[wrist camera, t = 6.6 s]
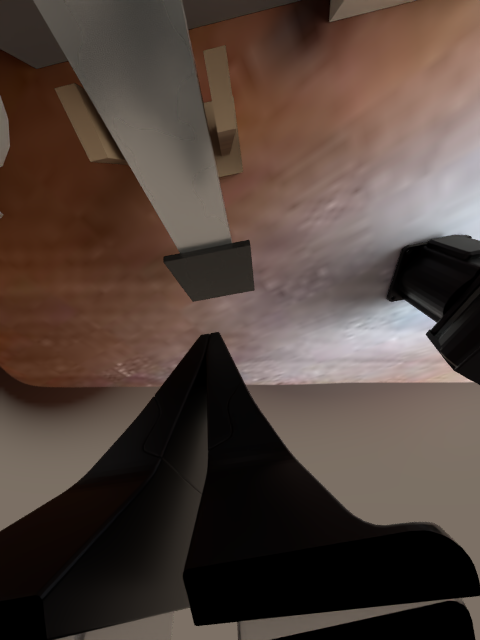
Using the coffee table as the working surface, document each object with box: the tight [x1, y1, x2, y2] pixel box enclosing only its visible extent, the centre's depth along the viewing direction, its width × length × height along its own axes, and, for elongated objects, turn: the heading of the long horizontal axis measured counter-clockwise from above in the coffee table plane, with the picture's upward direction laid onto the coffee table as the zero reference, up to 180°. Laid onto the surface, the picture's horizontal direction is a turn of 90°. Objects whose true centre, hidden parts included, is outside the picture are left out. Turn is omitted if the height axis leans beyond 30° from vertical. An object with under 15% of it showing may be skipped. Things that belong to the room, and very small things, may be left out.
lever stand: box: [54, 45, 243, 177], centre depth 10 cm, size 4×6×11 cm, turn 100°
